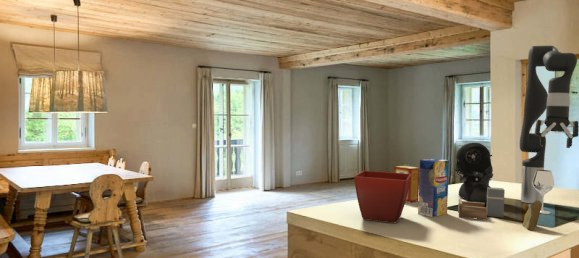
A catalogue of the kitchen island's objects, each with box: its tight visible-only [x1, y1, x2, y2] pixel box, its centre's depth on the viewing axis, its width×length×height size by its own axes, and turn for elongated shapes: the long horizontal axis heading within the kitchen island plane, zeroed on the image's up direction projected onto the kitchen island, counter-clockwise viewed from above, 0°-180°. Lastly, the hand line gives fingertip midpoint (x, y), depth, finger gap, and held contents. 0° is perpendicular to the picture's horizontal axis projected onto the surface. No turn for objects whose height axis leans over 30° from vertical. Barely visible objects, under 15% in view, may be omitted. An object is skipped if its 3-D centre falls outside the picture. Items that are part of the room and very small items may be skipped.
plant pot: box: [353, 170, 411, 224], centre depth 171 cm, size 19×19×17 cm
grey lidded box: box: [485, 186, 506, 218], centre depth 182 cm, size 5×6×11 cm
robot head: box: [454, 142, 494, 205], centre depth 217 cm, size 30×17×29 cm, turn 179°
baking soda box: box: [393, 165, 420, 203], centre depth 211 cm, size 10×6×16 cm
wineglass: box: [532, 169, 555, 215], centre depth 190 cm, size 8×8×18 cm
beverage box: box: [417, 158, 450, 218], centre depth 181 cm, size 7×11×22 cm, turn 132°
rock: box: [522, 200, 542, 231], centre depth 163 cm, size 11×9×10 cm
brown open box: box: [457, 198, 488, 220], centre depth 180 cm, size 12×10×6 cm
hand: (555, 147), depth 171 cm, fingers open, 8 cm apart
